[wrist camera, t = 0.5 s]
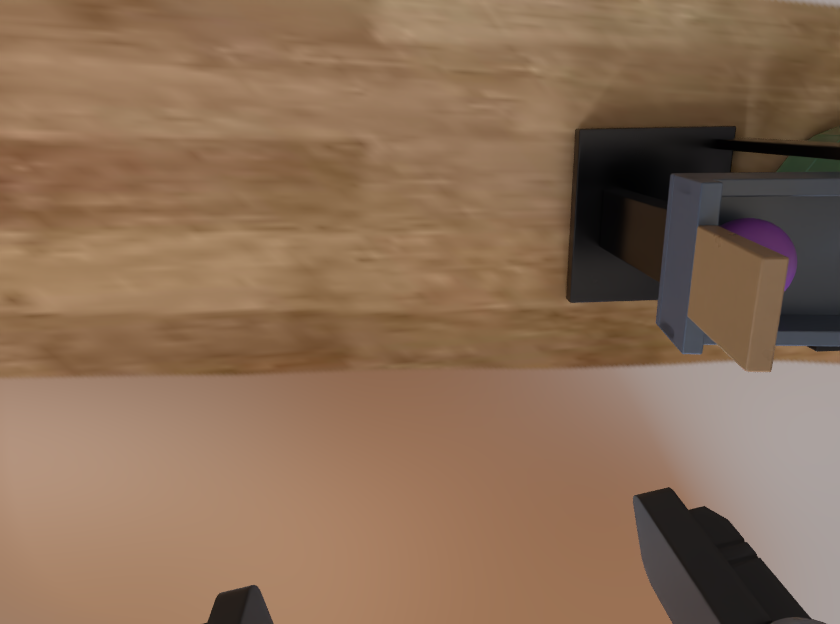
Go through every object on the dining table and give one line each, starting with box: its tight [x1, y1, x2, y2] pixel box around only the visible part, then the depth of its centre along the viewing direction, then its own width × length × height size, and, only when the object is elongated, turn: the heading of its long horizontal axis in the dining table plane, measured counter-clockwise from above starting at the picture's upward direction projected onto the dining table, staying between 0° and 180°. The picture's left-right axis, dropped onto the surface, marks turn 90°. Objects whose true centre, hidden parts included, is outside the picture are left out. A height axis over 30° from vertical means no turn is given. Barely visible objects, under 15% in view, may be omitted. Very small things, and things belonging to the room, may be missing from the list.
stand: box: [566, 126, 840, 351], centre depth 28 cm, size 9×9×10 cm
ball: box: [720, 218, 797, 291], centre depth 22 cm, size 3×3×3 cm
